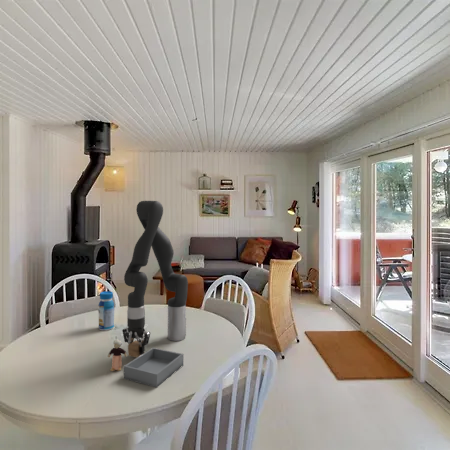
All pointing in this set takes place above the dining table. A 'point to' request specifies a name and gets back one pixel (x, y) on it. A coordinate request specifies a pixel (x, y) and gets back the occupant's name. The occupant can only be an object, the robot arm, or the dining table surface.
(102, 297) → the blue labelled canister
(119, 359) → the grandmother figurine
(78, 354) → the dining table surface
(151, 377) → the tote
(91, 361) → the dining table surface
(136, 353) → the walnut block
